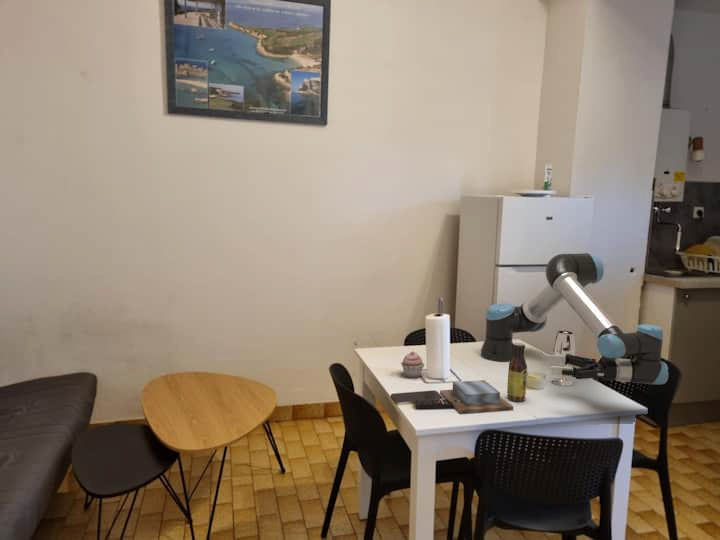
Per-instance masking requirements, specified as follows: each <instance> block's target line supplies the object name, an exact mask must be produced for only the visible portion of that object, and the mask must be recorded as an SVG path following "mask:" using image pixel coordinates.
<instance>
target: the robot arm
mask: <svg viewBox="0 0 720 540" xmlns="http://www.w3.org/2000/svg"><path fill="white" fill-rule="evenodd" d="M604 271H605V268H604V263H603V261H602V259H601V257H600V256H598V255H597V254H595V253H589V252H584V253H582V252H581V253H559V254H556V255H555V256H553V257H552V258H551V259H549V261H548V262H547V264H546V268H545V278H546V281H547V283H548V284H547V285H546V286H545V287H544V288H543V289H542V290H541V291H540V292H538V294H537V295H536V296H534V297H533V299H527V300H525V301H524V302H523V303H522V304H521V305H519V306H515V305H513V304H512V303H505V302H504V303H495V304H491V305H490V306H489V307H488V308H487V309H486V315H485V318H486V319H485V321H486V323H485V338H484V341H483V343H482V345H481V349H480V356H481V358H484V359H486V360H489V361H493V362H495V361H496V362H510V360H511V358H512V357H513V343H514V342H513V336H514V335H513V334H517V333H528V332H529V333H535V332H538V331H541V330H543V329H544V328H545V327H546V324H547V321H548V314H549V313H550V312H551V311H553V310H554V309H555V308H556V307H557V306H558V305H559V304H560V303H562V302H563V301H564V300H565V302H567V304H568V305H569V306H570V308H572V310H573V311H574V312H575V313H576V314H577V316H578V317H579V318H580V319H581V321H582V322H583V323H584V324H585V326H586V327H587V328H588V329H589V331H591V333H592V334H593V335H594V336H595V338H596V339H597V341H596V347H597V348H598V353H599V354H600V355H601V356H602V358H601V360H600V362H599V361H596V358H589V357H583V356H579V355H574V356H573V355H569V354H567V355H566V356H557V355H554V354H545V364H546V363H547V364H557V365H558V364H561V365H562V364H564V367H562V366H557V365H551V366H550V375H551V376H560V377H561V376H563V377H572V378H575V380H588V379H602V380H603V381H610V382H611V381H613V382H614V381H616V382H621V383H622V384H625V383H635V384H644V385H645V384H646V385H647V384H648V385H664V384H666V383H667V381H668V379H669V367H668V365H667V363H666V362H665V361H662V352H663V351H662V348H663V341H664V336H663V335H664V330H663V328H661V327H660V326H659V325H653V324H647V323H645V324H644V323H643V324H639V325H638V326H637V327H636V328H637V329H636V332H624V331H623V330H622V329H621V328H620V327H619V326H618V324H616V323H615V321H614V320H613V319H612V318H611V317H610V316H609V315H608V313H606V311H605V310H604V309H603V308H602V307H601V306H600V305H599V303H598V302H597V301H596V300H595V298H594V297H593V296H592V295H591V294H590V293H589V292H588V291H587V290H586V288H585V287H587V286H588V285H589V284H593V285H594V284H596V283H600V282H601V280H602V279H603V277H604V274H605V273H604ZM626 357H634V359H630V358H626ZM566 365H567V366H568V365H571V366H573V367H566Z"/></svg>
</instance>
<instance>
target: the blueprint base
mask: <svg viewBox="0 0 720 540" xmlns="http://www.w3.org/2000/svg"><path fill="white" fill-rule="evenodd" d="M439 394H440V396H442V397H443V398H444V399H445V400H446V399H447V400H449V401H451V402H452V404H453V406H454V407H453V406H452V407H453V408H454V410H455V411H456V412H457V413H458V414H459V415H464V414H465V415H466V414H479V413H493V412H502V411H503V412H504V411H507V412H508V411H513V410H514V405H512V404H511V403H509V402H508V401H507V400H506V399H505V398H503V397H502V396H501V392H500V391H499V390H497V388H495V387H494V386H493V385H492V384H490V383H488V382H487V381H486V380H484V379H482V380H468V381H467V380H466V381H465V380H464V381H452V389H442V390H439ZM447 400H446V401H447ZM454 400H461V401H462V403H461V402H460V403H458V402H454Z"/></svg>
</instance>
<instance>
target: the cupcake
mask: <svg viewBox="0 0 720 540" xmlns="http://www.w3.org/2000/svg"><path fill="white" fill-rule="evenodd" d="M402 359H403V360H402V362H400V364H401V367H402V370H403V376H405V377H406V376H407V377H406V378H409V379H411V378H412V379H416V378H419V376H421V375H422V372H423V369H424V367H425V364H424V362H423V359H422V358H421V356H420V354H419V353H418V352H415V351H414V350H412V351H410V352H409V353H408V354H405V355H404V358H402Z"/></svg>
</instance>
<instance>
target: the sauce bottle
mask: <svg viewBox="0 0 720 540" xmlns="http://www.w3.org/2000/svg"><path fill="white" fill-rule="evenodd" d="M525 349H526V344H525V343H522V342H513V357H512V358H511V360H510V361H508V370H507V371H508V372H507V390H506V391H507V392H506V393H507V398H508V399H509V400H510V401H512V402H523V401H525V399H526V394H527V393H526V392H527V378H528V377H527V375H528V364H527V361H526V359H525Z"/></svg>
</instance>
